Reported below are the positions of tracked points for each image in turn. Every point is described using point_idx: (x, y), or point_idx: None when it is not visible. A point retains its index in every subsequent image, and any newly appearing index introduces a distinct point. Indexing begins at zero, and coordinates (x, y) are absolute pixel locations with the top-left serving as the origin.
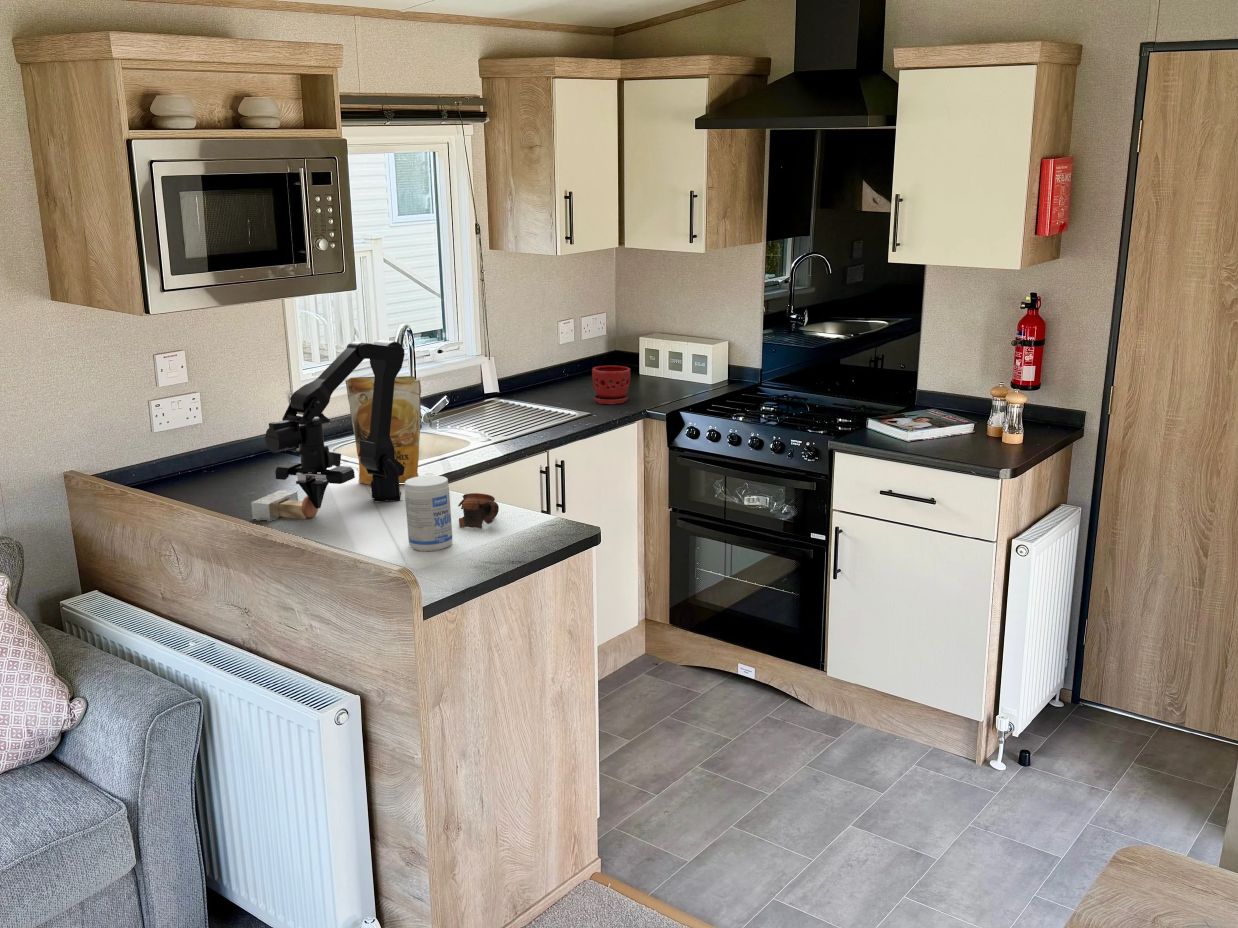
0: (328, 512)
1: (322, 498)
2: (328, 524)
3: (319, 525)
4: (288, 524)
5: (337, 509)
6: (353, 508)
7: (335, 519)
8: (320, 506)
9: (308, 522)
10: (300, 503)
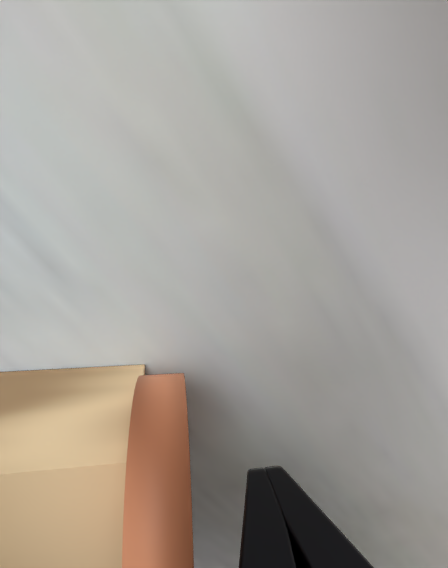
0: (222, 255)
1: (355, 557)
2: (374, 474)
3: (327, 504)
4: None
5: (254, 138)
6: (406, 57)
7: (375, 387)
8: (285, 476)
9: (220, 492)
10: (10, 533)
